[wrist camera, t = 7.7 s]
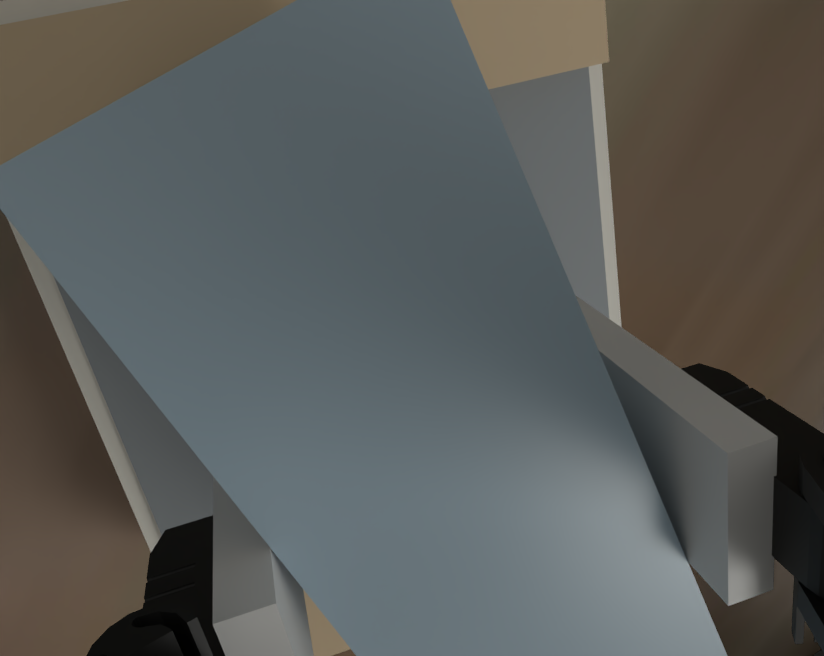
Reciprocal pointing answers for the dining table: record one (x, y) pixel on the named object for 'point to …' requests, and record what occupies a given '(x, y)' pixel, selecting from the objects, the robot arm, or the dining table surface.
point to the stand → (212, 24)
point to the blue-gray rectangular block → (368, 336)
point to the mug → (819, 653)
